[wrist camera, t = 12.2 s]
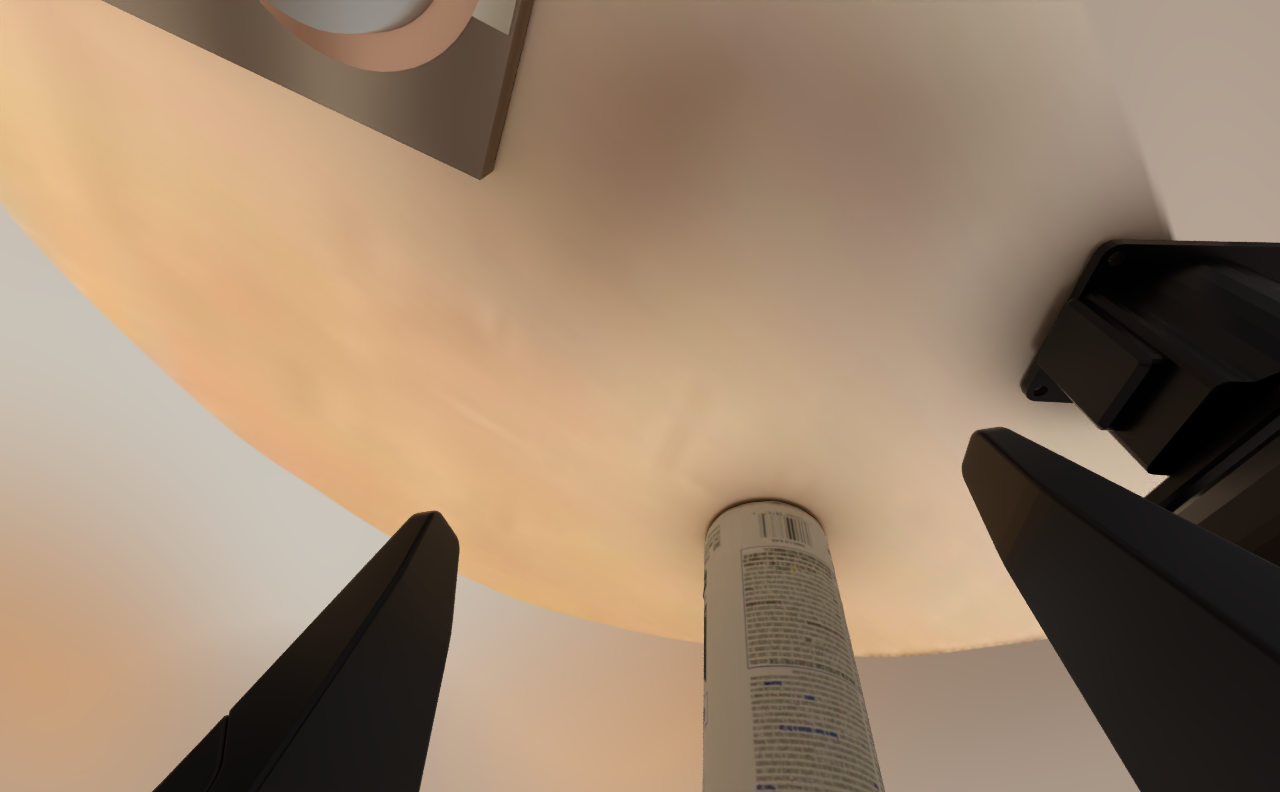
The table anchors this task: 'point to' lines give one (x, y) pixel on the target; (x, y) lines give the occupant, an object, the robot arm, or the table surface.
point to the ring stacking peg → (353, 14)
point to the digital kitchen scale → (376, 66)
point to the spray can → (779, 661)
